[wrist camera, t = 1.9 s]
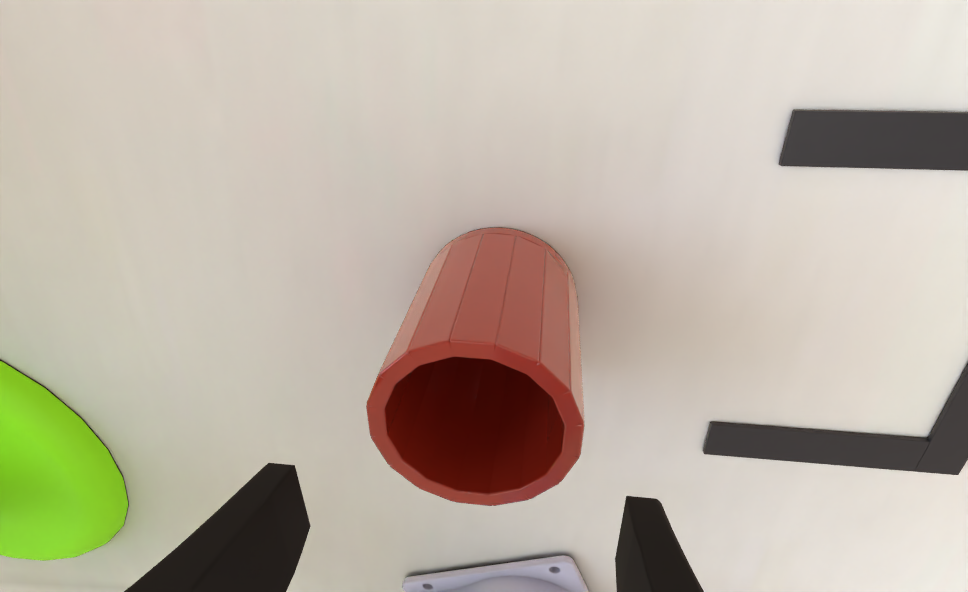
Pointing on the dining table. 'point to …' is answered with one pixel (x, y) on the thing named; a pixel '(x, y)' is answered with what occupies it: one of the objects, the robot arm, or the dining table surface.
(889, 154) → the tape bay
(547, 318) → the tumbler
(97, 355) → the dining table surface
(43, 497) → the wineglass
